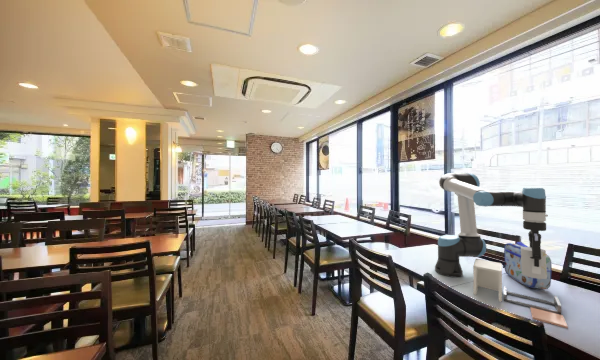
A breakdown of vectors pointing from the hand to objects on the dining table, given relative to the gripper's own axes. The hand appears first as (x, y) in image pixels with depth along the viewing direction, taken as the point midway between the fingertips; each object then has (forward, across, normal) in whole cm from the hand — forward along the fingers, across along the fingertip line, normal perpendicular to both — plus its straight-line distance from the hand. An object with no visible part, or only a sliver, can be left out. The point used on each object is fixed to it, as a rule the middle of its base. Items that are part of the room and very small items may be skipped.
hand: (535, 270), depth 107 cm
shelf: (+18, +7, +17) cm, 26 cm away
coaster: (+18, -5, -3) cm, 19 cm away
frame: (+18, +7, +2) cm, 19 cm away
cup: (+3, 0, 0) cm, 3 cm away
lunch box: (+18, +38, +2) cm, 42 cm away
